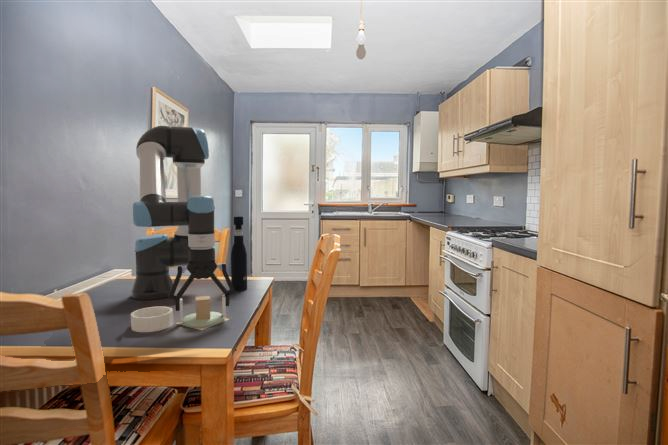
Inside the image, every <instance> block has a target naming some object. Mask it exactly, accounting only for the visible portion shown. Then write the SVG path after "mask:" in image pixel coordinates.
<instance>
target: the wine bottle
mask: <svg viewBox="0 0 668 445" xmlns="http://www.w3.org/2000/svg"><path fill="white" fill-rule="evenodd" d="M243 225H244V216H234V217H233V226H235V230H234V235H233V245H232V247H231V252H230V276H231V278H230V281H231V283H232V285H233V287H234V290H235V292H241V291H245V290H247V289H248V254H247V248H246V245H245V242H244V233H243Z"/></svg>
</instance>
